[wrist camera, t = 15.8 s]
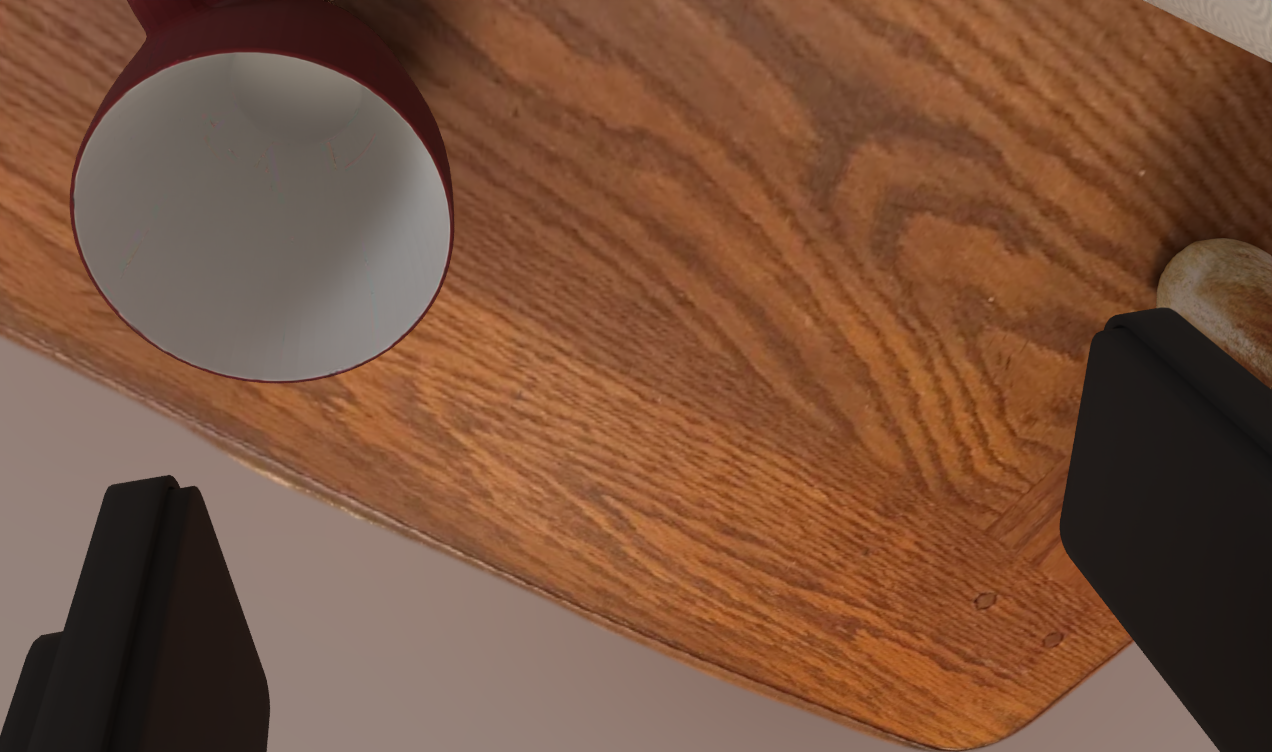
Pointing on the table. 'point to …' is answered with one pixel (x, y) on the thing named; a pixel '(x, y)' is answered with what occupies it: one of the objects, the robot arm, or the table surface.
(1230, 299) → the decorative mushroom
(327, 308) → the mug
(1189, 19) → the paper towel roll
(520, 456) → the table surface
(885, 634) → the table surface
